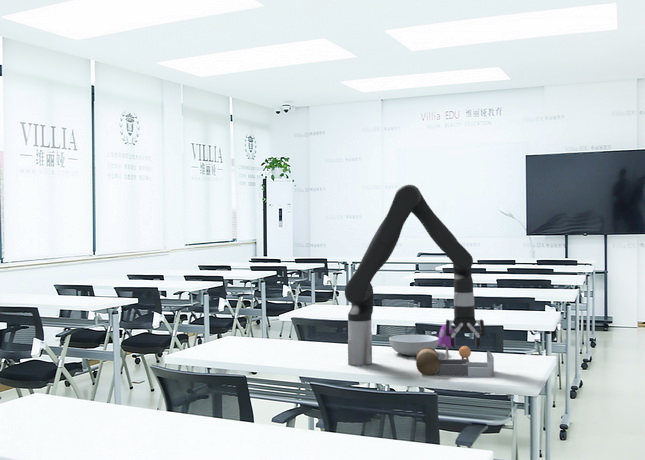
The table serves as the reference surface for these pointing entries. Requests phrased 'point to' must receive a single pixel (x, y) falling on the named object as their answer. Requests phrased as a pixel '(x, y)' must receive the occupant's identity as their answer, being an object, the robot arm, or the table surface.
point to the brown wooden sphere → (427, 361)
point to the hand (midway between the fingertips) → (465, 347)
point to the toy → (445, 338)
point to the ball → (464, 352)
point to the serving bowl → (412, 343)
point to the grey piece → (467, 367)
